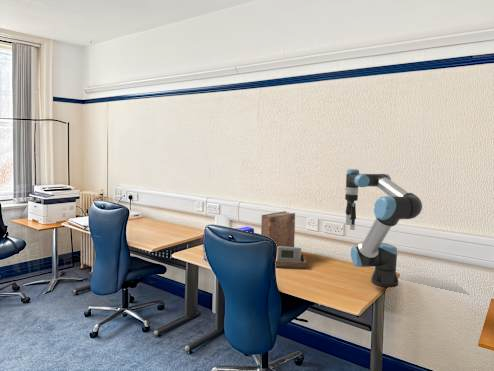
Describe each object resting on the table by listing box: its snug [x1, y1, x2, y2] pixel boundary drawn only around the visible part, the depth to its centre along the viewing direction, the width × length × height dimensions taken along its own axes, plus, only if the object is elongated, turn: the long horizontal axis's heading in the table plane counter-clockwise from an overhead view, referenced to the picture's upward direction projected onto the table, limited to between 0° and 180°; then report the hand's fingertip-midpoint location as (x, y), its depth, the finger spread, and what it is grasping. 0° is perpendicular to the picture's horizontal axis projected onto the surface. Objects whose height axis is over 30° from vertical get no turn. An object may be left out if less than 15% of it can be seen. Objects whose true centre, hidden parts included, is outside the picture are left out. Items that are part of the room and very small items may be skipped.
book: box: [260, 210, 296, 247], centre depth 273 cm, size 25×9×30 cm, turn 131°
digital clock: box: [277, 246, 302, 262], centre depth 254 cm, size 16×9×11 cm, turn 69°
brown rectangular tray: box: [275, 254, 307, 270], centre depth 255 cm, size 17×21×4 cm
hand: (349, 227), depth 239 cm, fingers open, 13 cm apart
